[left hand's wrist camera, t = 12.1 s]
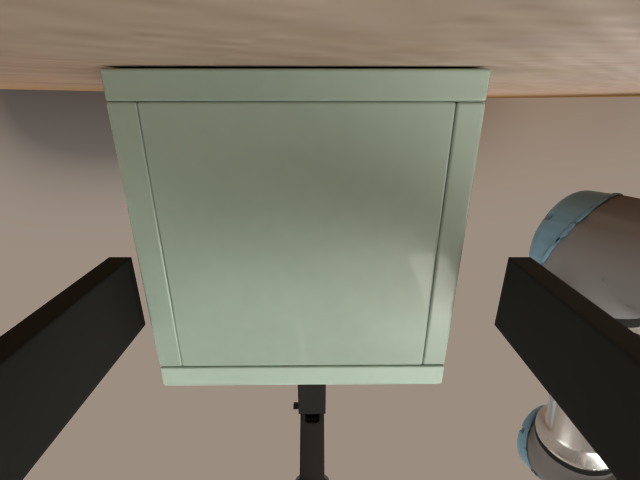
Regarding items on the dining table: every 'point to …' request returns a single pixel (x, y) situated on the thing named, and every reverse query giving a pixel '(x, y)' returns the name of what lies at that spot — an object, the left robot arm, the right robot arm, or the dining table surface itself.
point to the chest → (298, 209)
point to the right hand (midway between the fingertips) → (310, 417)
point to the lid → (302, 374)
